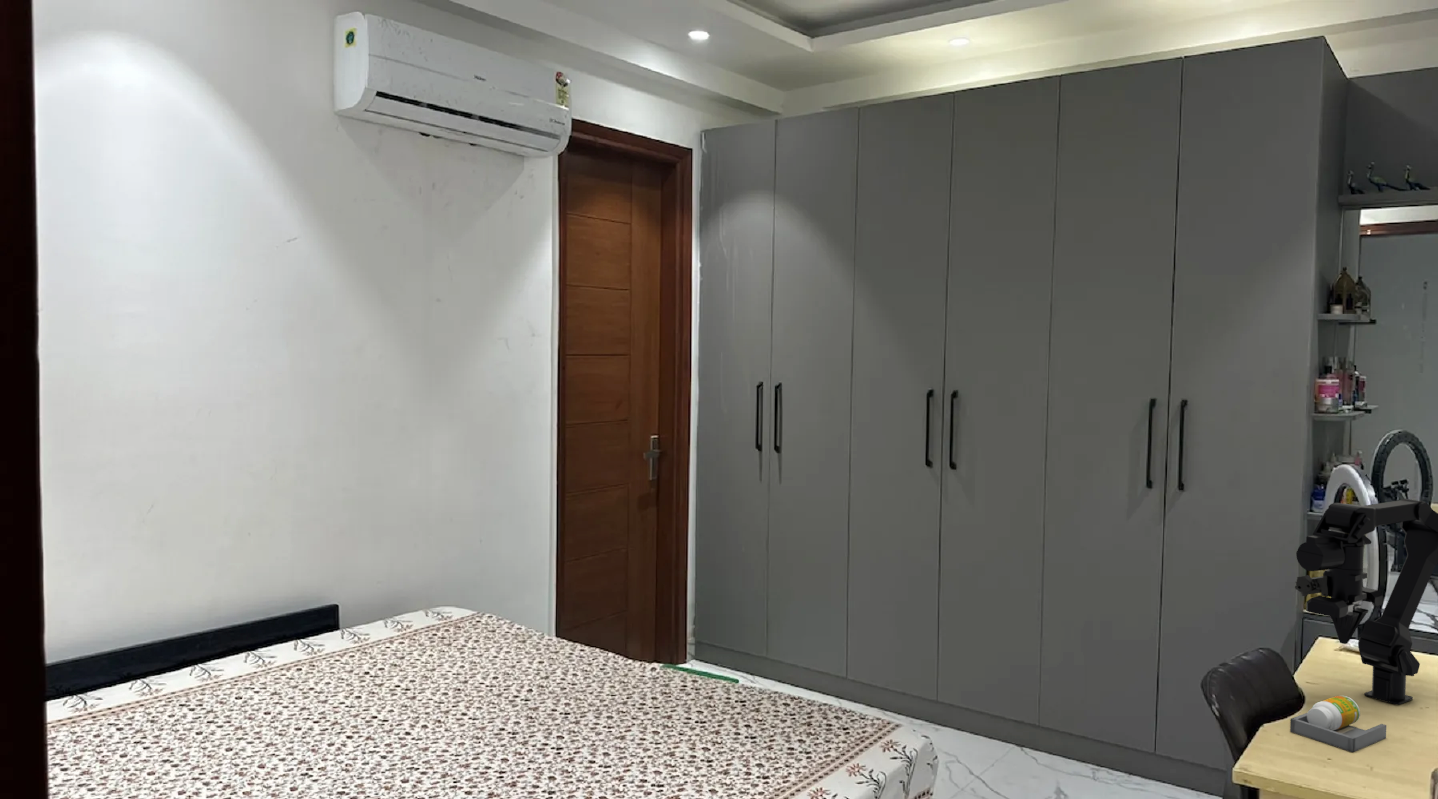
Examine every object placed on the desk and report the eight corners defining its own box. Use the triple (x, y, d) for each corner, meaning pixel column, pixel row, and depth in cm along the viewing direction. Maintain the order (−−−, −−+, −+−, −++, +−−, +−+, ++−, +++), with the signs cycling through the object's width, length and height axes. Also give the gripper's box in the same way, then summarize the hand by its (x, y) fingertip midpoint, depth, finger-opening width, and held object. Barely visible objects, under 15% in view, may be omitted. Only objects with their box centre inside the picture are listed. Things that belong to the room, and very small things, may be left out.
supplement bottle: (1365, 705, 184) (1336, 715, 179) (1355, 729, 186) (1326, 740, 181) (1336, 689, 189) (1308, 698, 184) (1327, 712, 190) (1299, 722, 185)
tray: (1323, 718, 190) (1324, 706, 190) (1386, 738, 181) (1386, 725, 181) (1290, 731, 184) (1290, 718, 184) (1352, 752, 175) (1353, 738, 174)
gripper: (1326, 554, 207) (1324, 626, 208) (1280, 565, 197) (1278, 641, 198) (1385, 563, 198) (1382, 639, 198) (1339, 576, 187) (1336, 655, 188)
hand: (1343, 643), depth 196 cm, fingers closed
